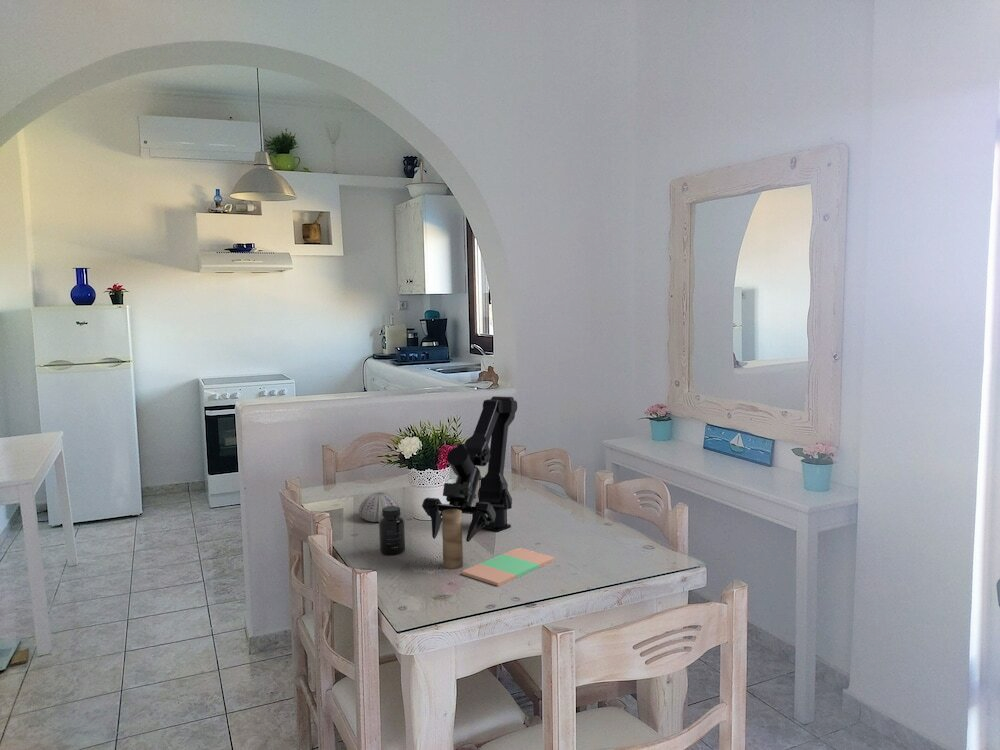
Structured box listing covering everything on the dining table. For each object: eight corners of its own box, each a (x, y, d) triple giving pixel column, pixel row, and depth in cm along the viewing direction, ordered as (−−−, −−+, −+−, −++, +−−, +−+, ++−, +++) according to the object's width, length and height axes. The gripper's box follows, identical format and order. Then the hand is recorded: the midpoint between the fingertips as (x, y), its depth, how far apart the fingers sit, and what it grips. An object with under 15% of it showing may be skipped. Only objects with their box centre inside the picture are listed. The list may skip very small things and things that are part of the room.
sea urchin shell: (401, 510, 235) (400, 486, 234) (402, 523, 221) (401, 497, 221) (359, 513, 233) (358, 488, 232) (358, 526, 219) (357, 500, 219)
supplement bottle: (377, 549, 198) (376, 506, 197) (402, 546, 200) (400, 503, 199) (382, 557, 191) (381, 513, 190) (408, 554, 194) (406, 510, 193)
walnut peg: (453, 560, 188) (451, 507, 187) (467, 564, 185) (465, 511, 184) (439, 565, 185) (437, 512, 183) (453, 570, 181) (451, 515, 180)
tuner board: (519, 550, 195) (519, 547, 195) (554, 560, 187) (554, 557, 187) (461, 574, 179) (461, 571, 179) (498, 586, 171) (498, 583, 171)
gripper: (423, 467, 189) (405, 520, 180) (491, 471, 183) (476, 527, 174) (437, 489, 198) (420, 541, 188) (502, 494, 191) (488, 548, 182)
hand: (450, 539), depth 183 cm, fingers open, 9 cm apart
